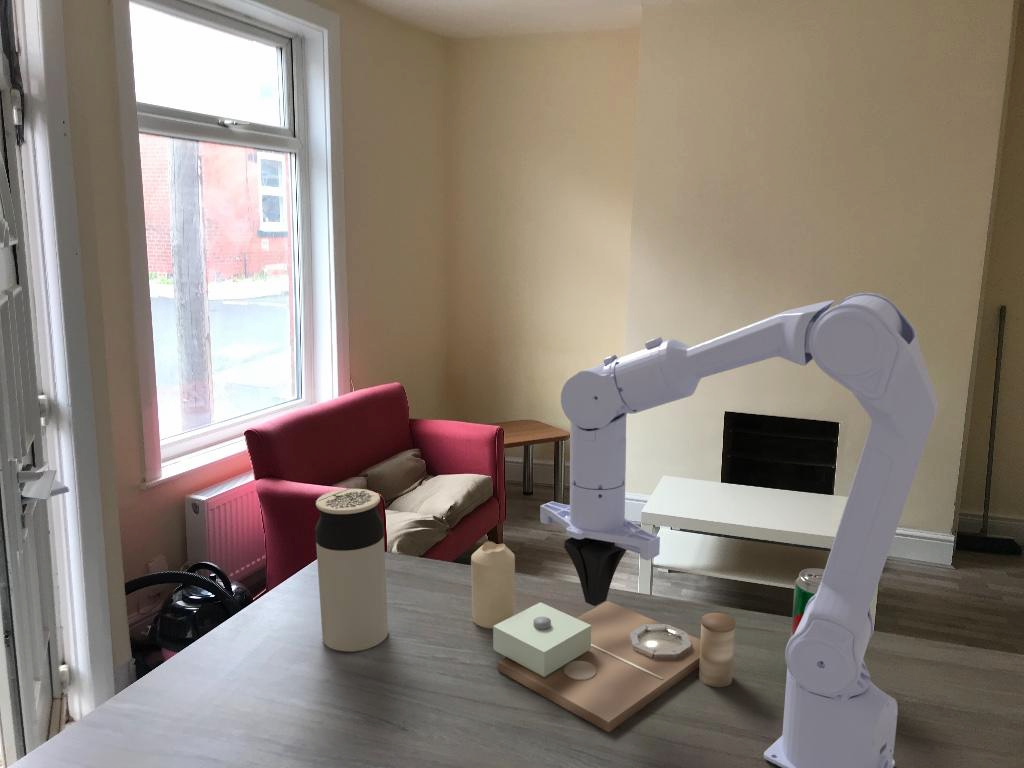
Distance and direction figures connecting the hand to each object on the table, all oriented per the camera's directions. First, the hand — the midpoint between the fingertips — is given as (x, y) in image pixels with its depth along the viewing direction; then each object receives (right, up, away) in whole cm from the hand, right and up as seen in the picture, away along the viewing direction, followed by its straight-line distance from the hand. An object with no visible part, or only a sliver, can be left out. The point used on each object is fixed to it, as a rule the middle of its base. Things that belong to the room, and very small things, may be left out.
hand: (595, 601), depth 88 cm
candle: (-11, -7, +18) cm, 22 cm away
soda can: (+25, -10, +4) cm, 27 cm away
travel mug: (-28, -8, +13) cm, 32 cm away
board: (+2, -9, +7) cm, 12 cm away
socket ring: (+8, -7, +9) cm, 14 cm away
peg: (+14, -10, +4) cm, 17 cm away
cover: (-6, -7, +7) cm, 12 cm away
